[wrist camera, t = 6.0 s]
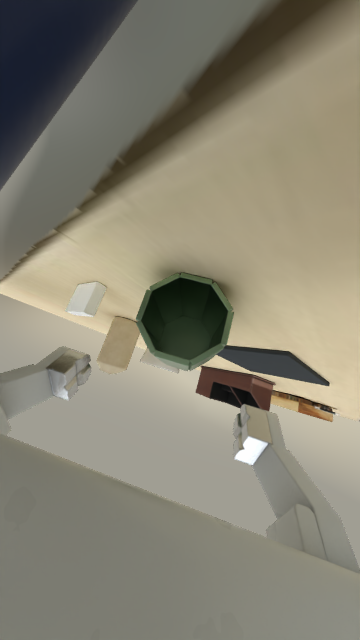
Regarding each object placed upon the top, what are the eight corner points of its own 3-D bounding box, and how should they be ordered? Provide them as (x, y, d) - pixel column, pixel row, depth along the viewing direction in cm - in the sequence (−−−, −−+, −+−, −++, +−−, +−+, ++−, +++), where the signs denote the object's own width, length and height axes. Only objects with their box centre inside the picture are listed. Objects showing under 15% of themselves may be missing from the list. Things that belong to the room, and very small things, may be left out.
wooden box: (342, 410, 91) (306, 397, 81) (341, 425, 89) (304, 414, 79) (292, 398, 113) (258, 386, 103) (291, 409, 111) (256, 399, 101)
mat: (199, 343, 37) (198, 346, 37) (289, 351, 25) (288, 356, 25) (251, 368, 49) (250, 371, 49) (329, 383, 36) (329, 386, 36)
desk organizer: (200, 365, 85) (193, 392, 82) (253, 374, 59) (246, 413, 56) (218, 372, 89) (213, 397, 86) (276, 383, 63) (270, 420, 60)
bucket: (218, 323, 22) (205, 377, 21) (167, 309, 23) (150, 360, 21) (240, 286, 13) (219, 375, 12) (155, 265, 14) (124, 347, 12)
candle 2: (194, 348, 44) (186, 375, 42) (169, 344, 51) (161, 368, 49) (166, 334, 39) (156, 365, 37) (141, 332, 45) (132, 359, 43)
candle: (143, 329, 40) (126, 377, 37) (118, 321, 40) (99, 368, 37) (140, 322, 35) (119, 378, 32) (111, 313, 35) (88, 368, 32)
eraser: (107, 287, 22) (93, 317, 21) (87, 289, 25) (74, 315, 24) (97, 281, 21) (83, 312, 20) (78, 284, 24) (64, 310, 23)
